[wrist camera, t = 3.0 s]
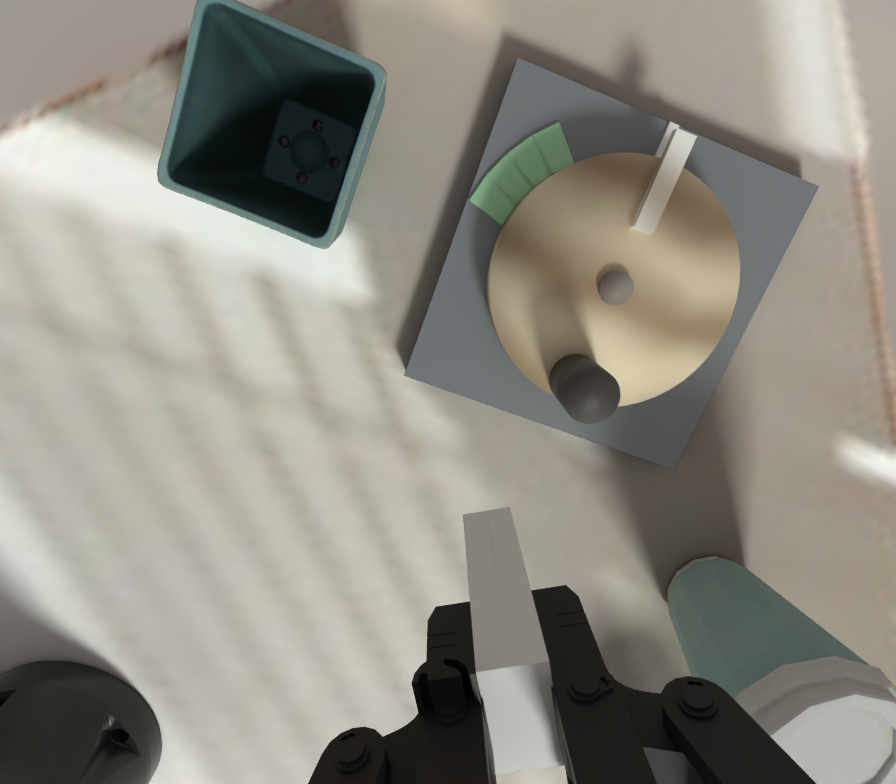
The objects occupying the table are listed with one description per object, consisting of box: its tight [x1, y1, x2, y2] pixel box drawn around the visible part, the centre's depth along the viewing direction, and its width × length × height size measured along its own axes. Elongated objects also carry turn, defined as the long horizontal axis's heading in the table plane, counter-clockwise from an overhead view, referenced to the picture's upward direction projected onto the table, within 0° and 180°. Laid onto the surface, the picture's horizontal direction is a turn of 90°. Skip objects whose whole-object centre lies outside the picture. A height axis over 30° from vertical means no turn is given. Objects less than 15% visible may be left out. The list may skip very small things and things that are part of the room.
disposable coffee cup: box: [667, 556, 896, 784], centre depth 36 cm, size 11×11×15 cm
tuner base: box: [404, 58, 819, 470], centre depth 36 cm, size 20×20×2 cm
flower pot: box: [157, 0, 387, 249], centre depth 30 cm, size 9×9×9 cm
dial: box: [487, 128, 740, 424], centre depth 32 cm, size 17×15×6 cm
